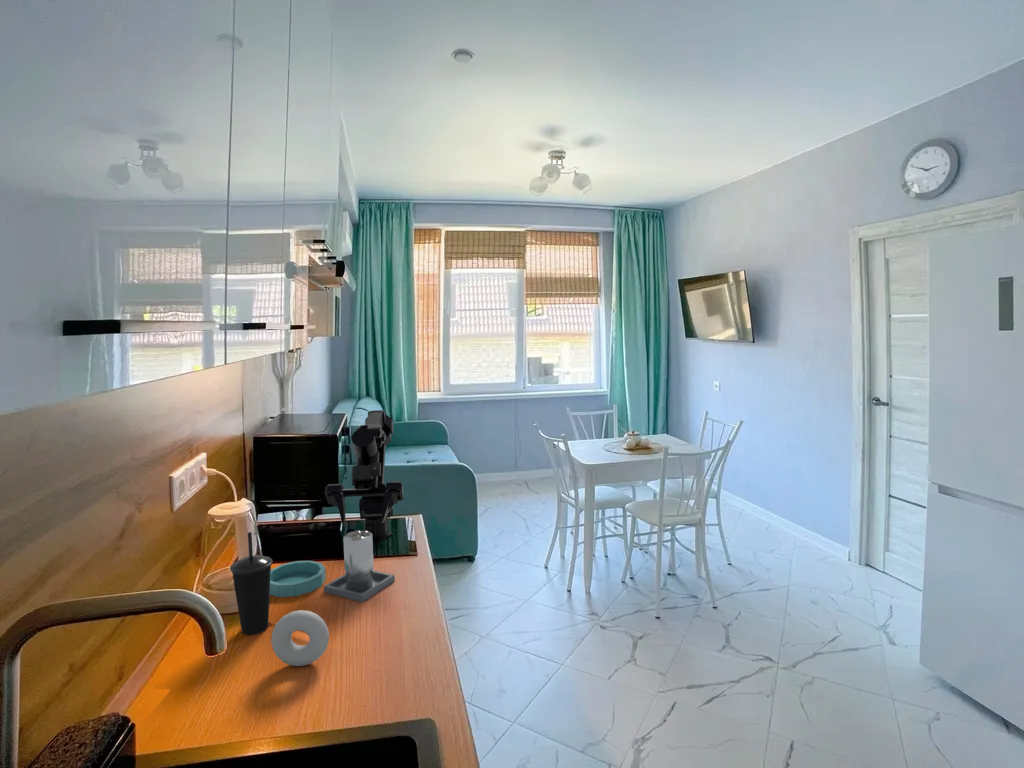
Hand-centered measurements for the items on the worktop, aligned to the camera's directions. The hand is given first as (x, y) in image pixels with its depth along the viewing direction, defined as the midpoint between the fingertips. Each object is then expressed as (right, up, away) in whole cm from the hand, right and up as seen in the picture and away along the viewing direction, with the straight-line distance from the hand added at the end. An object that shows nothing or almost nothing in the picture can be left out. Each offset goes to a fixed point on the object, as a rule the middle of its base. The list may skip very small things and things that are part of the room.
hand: (362, 523), depth 133 cm
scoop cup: (+1, -13, -6) cm, 14 cm away
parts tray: (+1, -14, -6) cm, 15 cm away
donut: (-1, -17, -35) cm, 38 cm away
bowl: (-15, -14, -4) cm, 21 cm away
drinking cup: (-16, -16, -22) cm, 32 cm away
